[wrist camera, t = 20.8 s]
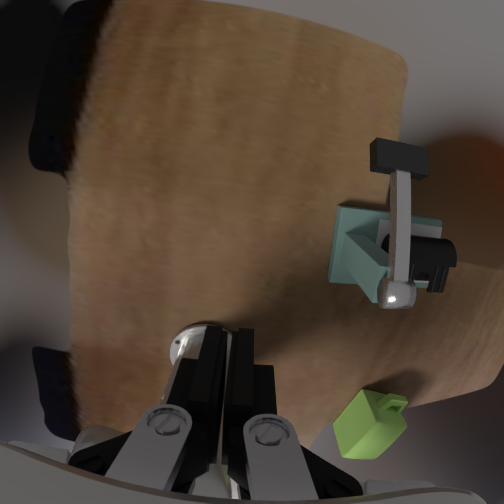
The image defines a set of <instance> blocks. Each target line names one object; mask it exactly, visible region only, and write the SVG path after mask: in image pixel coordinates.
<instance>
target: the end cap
mask: <svg viewBox="0 0 504 504" xmlns="http://www.w3.org/2000/svg"><path fill="white" fill-rule="evenodd" d="M389 238H390V233H389V234H387V235H386V236H385V237H384V239H383V241H382V244H381V248H382V249H383V250H384V251H385V252H387V253H388V254H389ZM456 262H457V255H456V250H455V247H454V245H453V243H452V242H451V241H450V240H448V239H441V238H433V237H424V236H415V235H411V237H410V260H409V275H408V279H412V280H413V281H414V280H415V281H429V283H428V287H427V292H439V293H442V292H443V291H444V287H445V283H446V279H447V275H448V271H449V267H456Z"/></svg>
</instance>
